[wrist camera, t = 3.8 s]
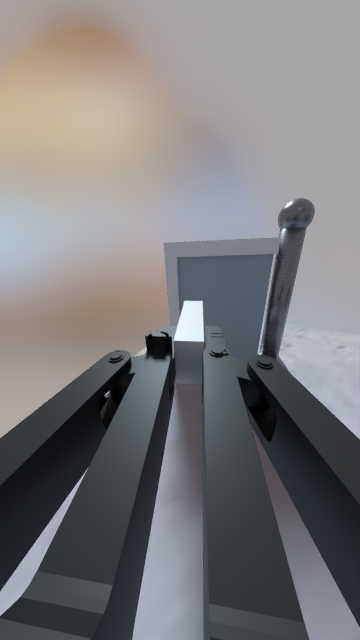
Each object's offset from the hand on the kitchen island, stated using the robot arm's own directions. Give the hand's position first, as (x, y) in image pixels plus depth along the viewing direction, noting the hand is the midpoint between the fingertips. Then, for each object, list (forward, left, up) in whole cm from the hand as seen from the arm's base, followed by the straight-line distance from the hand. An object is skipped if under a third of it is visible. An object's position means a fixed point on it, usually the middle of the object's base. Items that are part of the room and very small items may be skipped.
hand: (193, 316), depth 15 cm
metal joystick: (+1, -13, -12) cm, 18 cm away
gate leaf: (+5, -7, -11) cm, 14 cm away
